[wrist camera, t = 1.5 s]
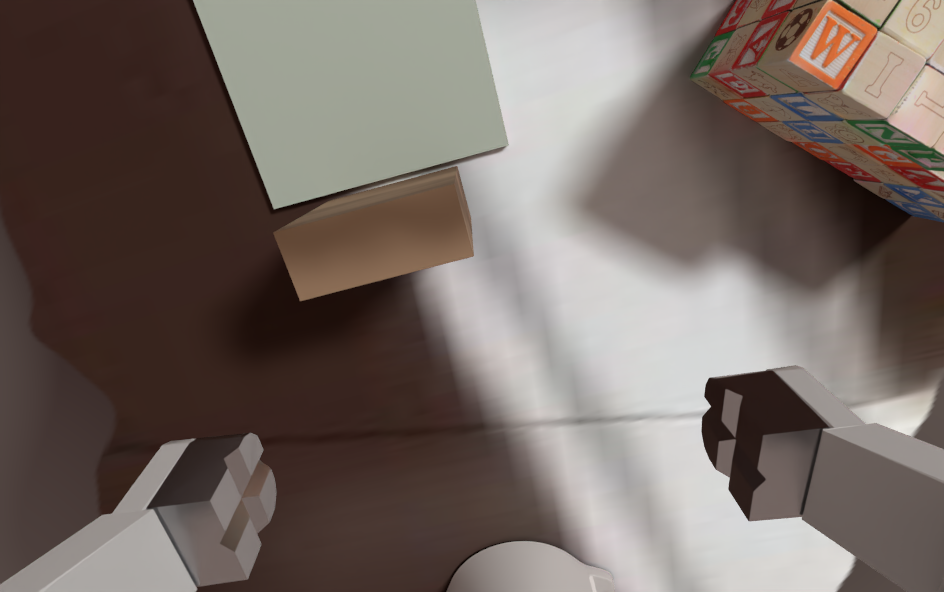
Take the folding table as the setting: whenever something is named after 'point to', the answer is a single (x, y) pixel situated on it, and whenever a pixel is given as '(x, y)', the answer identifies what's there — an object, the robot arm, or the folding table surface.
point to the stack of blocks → (843, 87)
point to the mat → (354, 88)
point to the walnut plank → (378, 234)
